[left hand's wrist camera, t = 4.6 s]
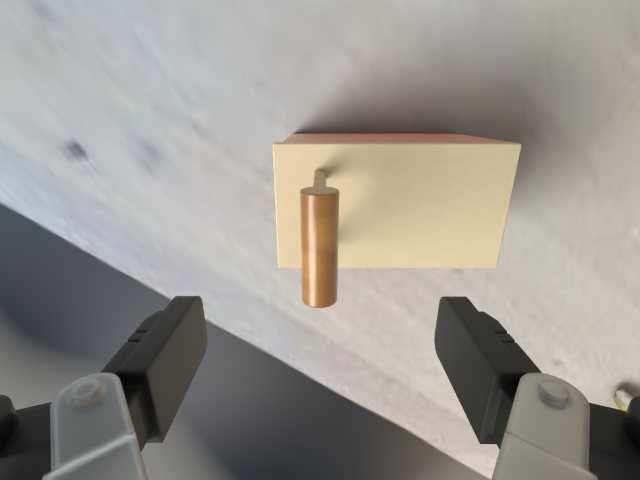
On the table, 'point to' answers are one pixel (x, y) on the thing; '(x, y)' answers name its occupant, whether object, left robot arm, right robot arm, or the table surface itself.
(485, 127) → the table surface
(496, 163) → the lid
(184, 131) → the table surface
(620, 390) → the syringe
